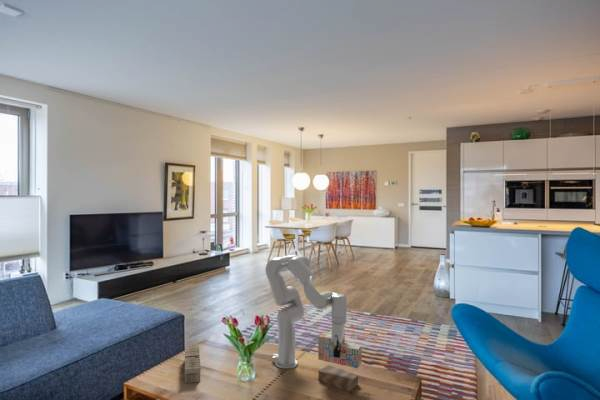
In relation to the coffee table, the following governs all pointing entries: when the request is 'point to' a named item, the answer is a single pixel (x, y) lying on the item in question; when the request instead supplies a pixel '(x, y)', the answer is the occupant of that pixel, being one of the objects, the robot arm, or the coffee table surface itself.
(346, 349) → the stack of blocks
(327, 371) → the walnut block
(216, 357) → the coffee table surface
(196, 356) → the block tower
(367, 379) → the coffee table surface
